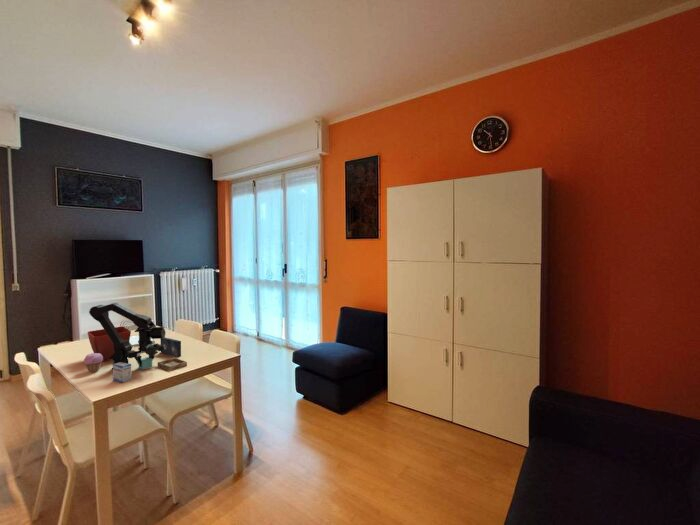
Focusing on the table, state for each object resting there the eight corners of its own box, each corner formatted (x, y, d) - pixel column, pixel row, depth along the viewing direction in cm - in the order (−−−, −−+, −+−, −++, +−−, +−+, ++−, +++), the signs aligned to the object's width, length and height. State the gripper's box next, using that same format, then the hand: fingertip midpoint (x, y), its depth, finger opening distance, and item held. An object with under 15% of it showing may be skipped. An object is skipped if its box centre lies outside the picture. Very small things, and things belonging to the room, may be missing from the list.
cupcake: (83, 370, 188) (82, 353, 188) (102, 367, 194) (101, 350, 194) (85, 375, 182) (84, 356, 182) (104, 371, 188) (104, 353, 188)
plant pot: (94, 365, 198) (93, 336, 197) (87, 357, 211) (87, 331, 210) (132, 357, 212) (131, 331, 211) (123, 351, 225) (122, 326, 224)
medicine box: (112, 380, 174) (112, 364, 174) (121, 377, 179) (120, 361, 178) (123, 382, 172) (122, 366, 171) (131, 379, 176) (131, 363, 175)
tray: (169, 370, 188) (169, 366, 188) (157, 366, 196) (157, 362, 196) (186, 365, 197) (186, 361, 197) (174, 361, 204) (174, 357, 204)
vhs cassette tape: (181, 356, 215) (181, 340, 214) (177, 357, 212) (176, 341, 212) (164, 351, 224) (164, 336, 224) (160, 352, 221) (160, 337, 221)
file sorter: (119, 341, 249) (118, 320, 249) (146, 336, 261) (145, 317, 261) (126, 348, 231) (126, 325, 231) (155, 343, 244) (154, 322, 243)
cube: (142, 369, 190) (142, 360, 190) (138, 367, 193) (138, 359, 193) (152, 367, 195) (151, 358, 194) (147, 365, 197) (147, 356, 197)
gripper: (133, 345, 181) (134, 373, 182) (168, 337, 196) (168, 363, 197) (124, 341, 187) (125, 369, 188) (158, 334, 203) (159, 360, 203)
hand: (145, 365), depth 194 cm, fingers closed on cube, 5 cm apart
